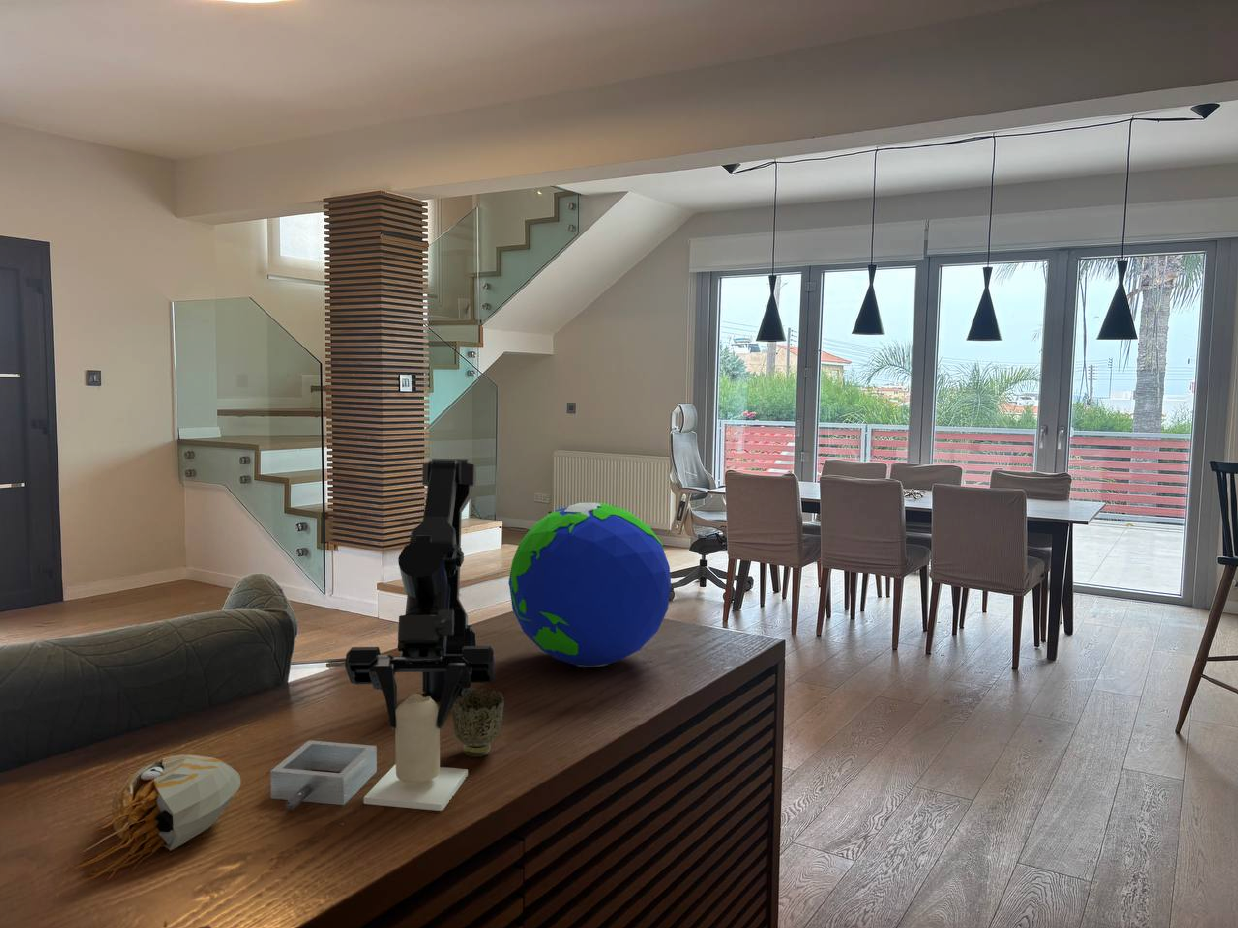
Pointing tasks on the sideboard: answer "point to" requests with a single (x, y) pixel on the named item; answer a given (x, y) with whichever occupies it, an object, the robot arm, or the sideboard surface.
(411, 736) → the candle
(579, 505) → the globe
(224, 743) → the sideboard surface
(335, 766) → the small drawer with knob
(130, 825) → the nautilus
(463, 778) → the tile
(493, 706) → the cup
